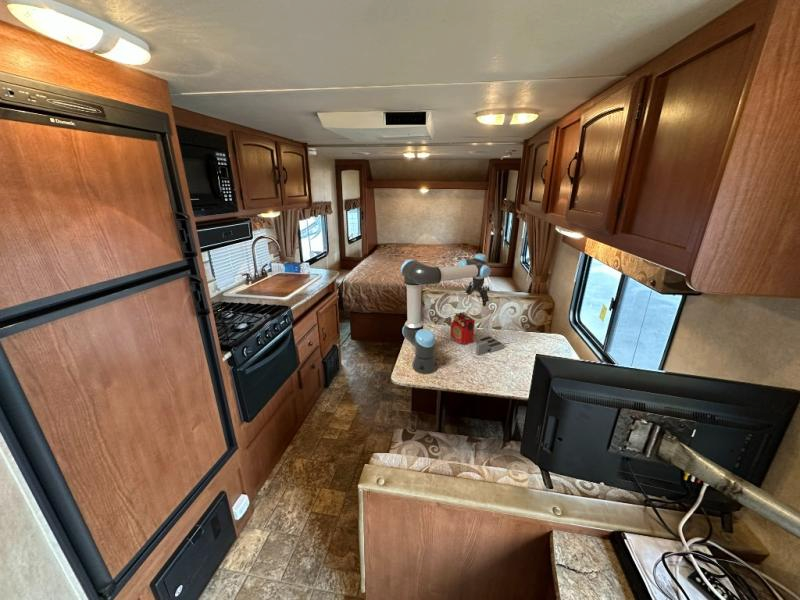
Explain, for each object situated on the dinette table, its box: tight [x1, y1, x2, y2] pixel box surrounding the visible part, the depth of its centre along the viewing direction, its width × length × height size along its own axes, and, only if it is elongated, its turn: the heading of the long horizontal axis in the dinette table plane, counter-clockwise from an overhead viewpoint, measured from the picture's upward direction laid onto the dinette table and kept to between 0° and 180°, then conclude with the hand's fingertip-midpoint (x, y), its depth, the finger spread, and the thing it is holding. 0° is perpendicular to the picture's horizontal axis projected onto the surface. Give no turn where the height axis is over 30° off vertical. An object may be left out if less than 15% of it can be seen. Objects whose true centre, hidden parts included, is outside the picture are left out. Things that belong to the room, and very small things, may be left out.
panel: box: [475, 341, 488, 357], centre depth 203 cm, size 8×2×8 cm, turn 118°
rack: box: [475, 335, 505, 354], centre depth 214 cm, size 12×15×4 cm
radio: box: [450, 311, 476, 345], centre depth 218 cm, size 16×10×20 cm, turn 28°
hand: (475, 306), depth 211 cm, fingers open, 13 cm apart
